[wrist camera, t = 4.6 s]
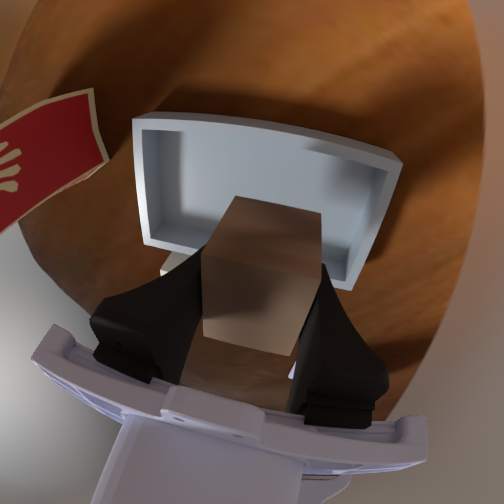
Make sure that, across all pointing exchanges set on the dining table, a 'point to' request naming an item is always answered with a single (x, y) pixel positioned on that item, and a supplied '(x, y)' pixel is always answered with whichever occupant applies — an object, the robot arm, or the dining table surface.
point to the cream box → (173, 261)
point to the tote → (259, 181)
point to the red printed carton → (47, 152)
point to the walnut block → (261, 274)
